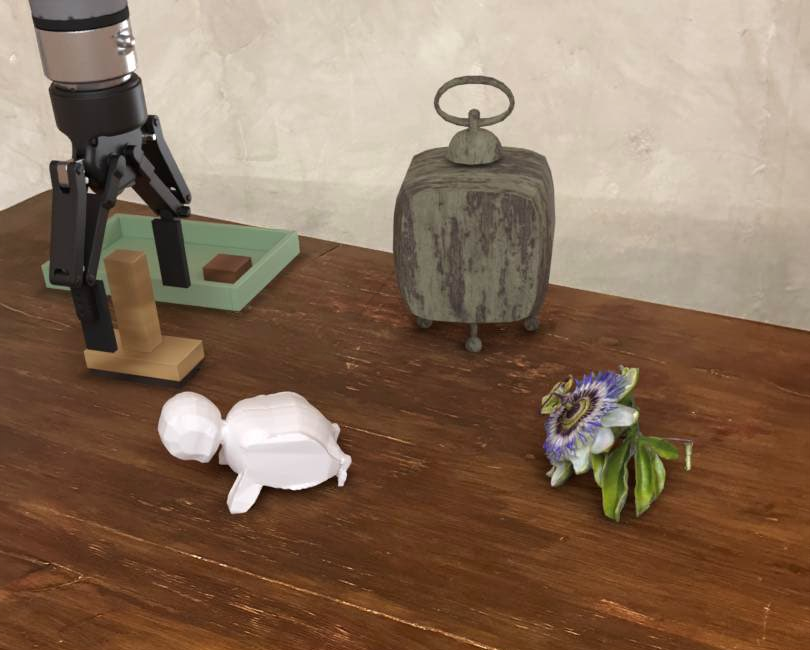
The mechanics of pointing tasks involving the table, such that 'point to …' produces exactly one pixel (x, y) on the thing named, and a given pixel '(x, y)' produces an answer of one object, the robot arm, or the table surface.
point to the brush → (141, 331)
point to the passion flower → (605, 439)
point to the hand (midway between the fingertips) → (141, 316)
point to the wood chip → (226, 268)
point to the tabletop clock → (475, 227)
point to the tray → (201, 258)
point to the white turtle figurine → (256, 442)
